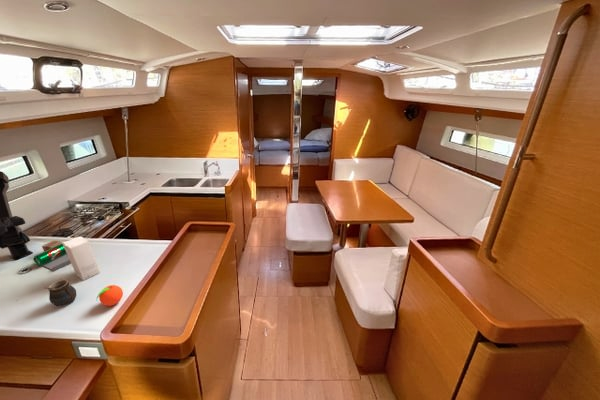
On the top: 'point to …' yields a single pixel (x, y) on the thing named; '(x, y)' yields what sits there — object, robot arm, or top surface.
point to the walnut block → (51, 245)
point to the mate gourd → (61, 293)
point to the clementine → (110, 295)
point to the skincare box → (81, 257)
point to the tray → (58, 262)
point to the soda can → (49, 255)
